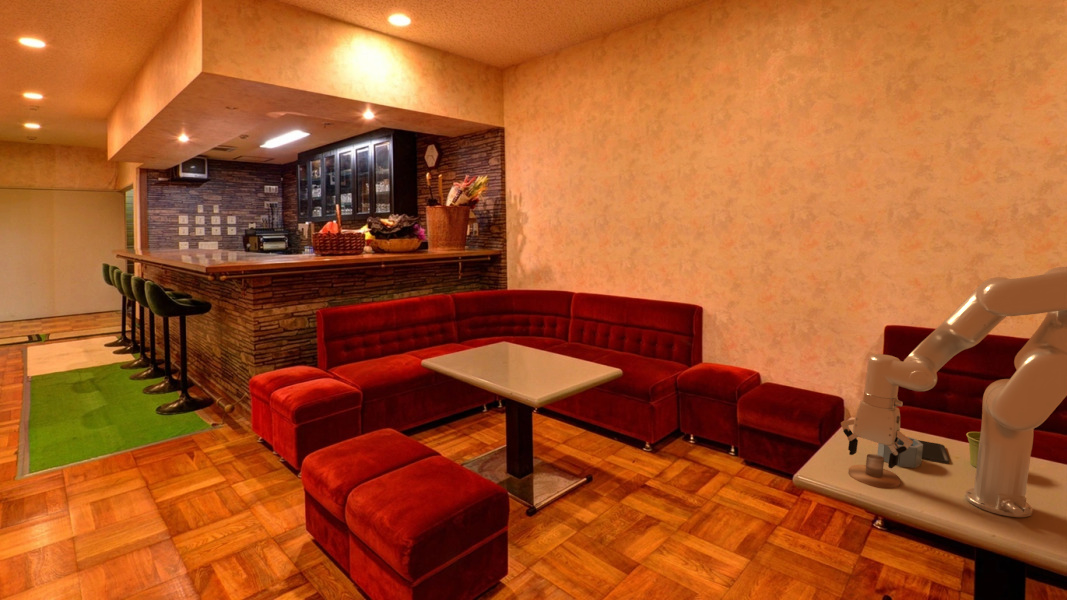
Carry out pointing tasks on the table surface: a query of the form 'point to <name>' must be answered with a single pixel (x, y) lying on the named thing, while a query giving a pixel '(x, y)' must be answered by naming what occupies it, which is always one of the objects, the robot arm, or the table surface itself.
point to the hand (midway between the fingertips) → (871, 460)
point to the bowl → (904, 453)
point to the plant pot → (973, 446)
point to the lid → (874, 473)
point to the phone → (934, 452)
